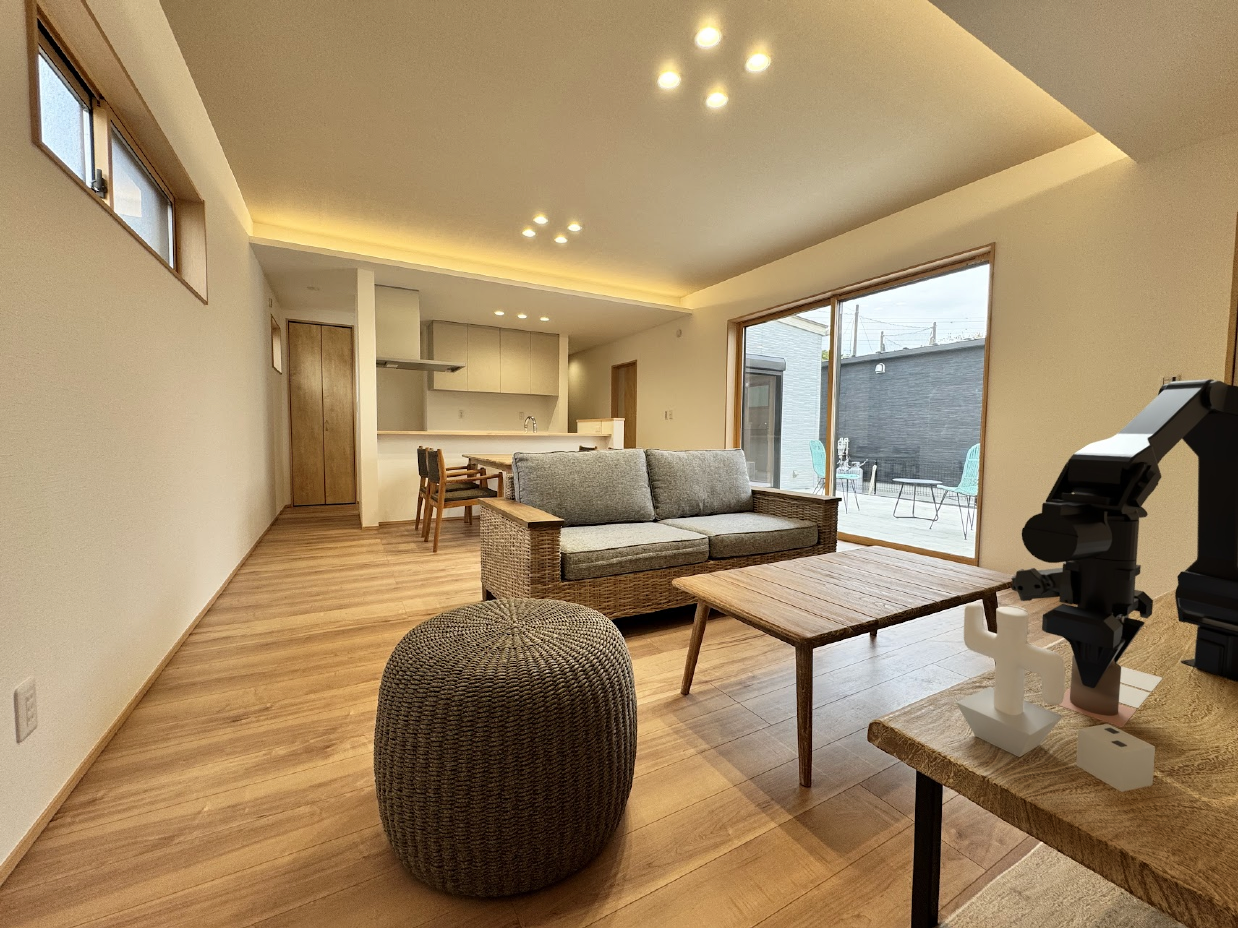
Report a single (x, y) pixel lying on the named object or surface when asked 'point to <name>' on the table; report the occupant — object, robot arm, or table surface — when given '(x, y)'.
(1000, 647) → the figurine
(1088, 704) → the pawn
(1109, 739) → the cream box with slots
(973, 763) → the table surface
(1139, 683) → the game board
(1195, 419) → the robot arm
